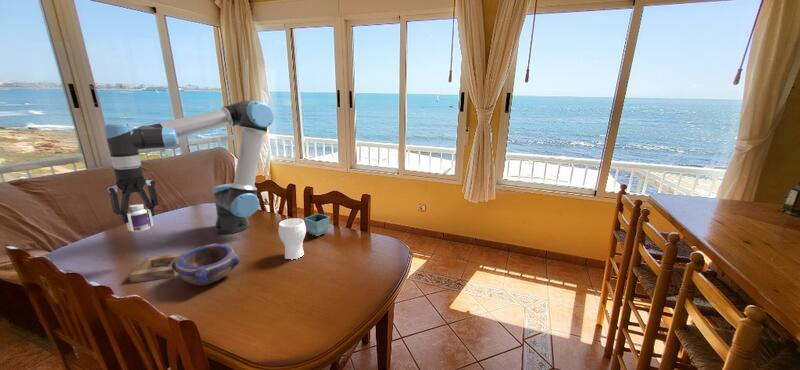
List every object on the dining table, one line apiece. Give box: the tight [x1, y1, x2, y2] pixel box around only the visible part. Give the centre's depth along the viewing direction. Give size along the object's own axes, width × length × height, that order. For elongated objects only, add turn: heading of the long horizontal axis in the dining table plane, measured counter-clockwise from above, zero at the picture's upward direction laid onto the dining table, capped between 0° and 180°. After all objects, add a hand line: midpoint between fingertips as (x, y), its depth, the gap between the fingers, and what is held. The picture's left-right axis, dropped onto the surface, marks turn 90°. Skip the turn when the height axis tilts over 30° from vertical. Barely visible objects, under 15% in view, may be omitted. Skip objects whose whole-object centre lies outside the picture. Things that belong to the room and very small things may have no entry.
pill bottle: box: [128, 203, 151, 233], centre depth 111 cm, size 5×5×10 cm
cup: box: [277, 217, 307, 261], centre depth 123 cm, size 11×11×15 cm
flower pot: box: [303, 213, 331, 237], centre depth 145 cm, size 9×9×9 cm
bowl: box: [172, 243, 241, 286], centre depth 107 cm, size 18×18×10 cm
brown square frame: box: [128, 252, 186, 284], centre depth 112 cm, size 13×13×3 cm
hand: (141, 227), depth 112 cm, fingers closed on pill bottle, 5 cm apart
